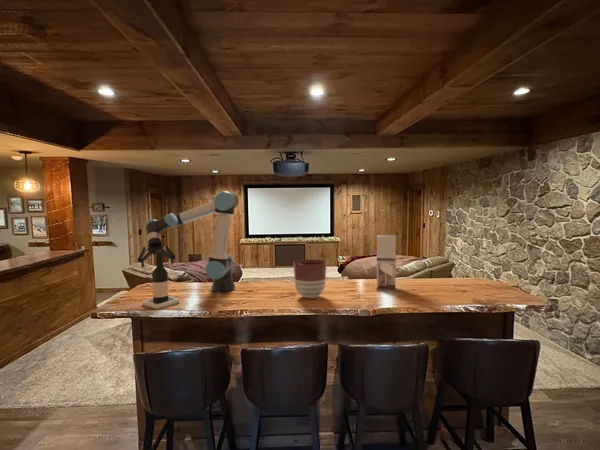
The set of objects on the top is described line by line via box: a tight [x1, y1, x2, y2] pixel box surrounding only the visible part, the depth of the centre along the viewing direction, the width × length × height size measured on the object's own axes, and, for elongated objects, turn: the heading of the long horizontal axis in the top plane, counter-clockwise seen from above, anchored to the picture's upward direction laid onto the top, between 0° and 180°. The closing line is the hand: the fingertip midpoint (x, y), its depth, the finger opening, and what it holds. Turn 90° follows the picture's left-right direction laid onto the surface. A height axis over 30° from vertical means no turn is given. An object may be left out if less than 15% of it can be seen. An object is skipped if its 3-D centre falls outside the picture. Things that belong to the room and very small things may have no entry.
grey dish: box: [141, 296, 180, 310], centre depth 189 cm, size 14×14×2 cm
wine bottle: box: [151, 250, 169, 304], centre depth 188 cm, size 8×8×30 cm
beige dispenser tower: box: [376, 234, 397, 293], centre depth 217 cm, size 11×11×35 cm
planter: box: [293, 259, 327, 300], centre depth 199 cm, size 20×20×21 cm
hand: (158, 270), depth 189 cm, fingers open, 13 cm apart
